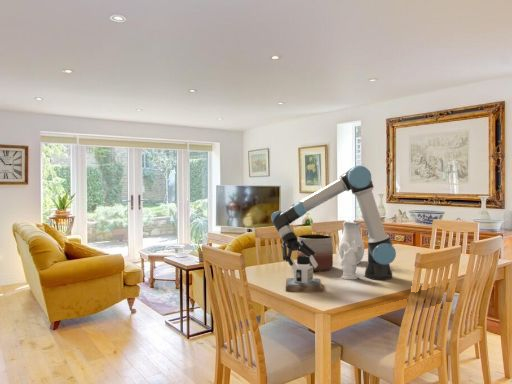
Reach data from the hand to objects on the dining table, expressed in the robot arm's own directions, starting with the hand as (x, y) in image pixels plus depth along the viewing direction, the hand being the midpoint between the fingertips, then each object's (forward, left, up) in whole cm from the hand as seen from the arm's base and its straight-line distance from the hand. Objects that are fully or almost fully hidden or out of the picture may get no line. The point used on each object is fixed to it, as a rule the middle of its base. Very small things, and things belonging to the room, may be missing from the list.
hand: (306, 268), depth 202 cm
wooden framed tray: (+1, -2, -10) cm, 10 cm away
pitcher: (-32, -72, -10) cm, 79 cm away
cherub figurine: (-27, -25, -10) cm, 38 cm away
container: (+1, -2, -7) cm, 8 cm away
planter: (-7, -48, -10) cm, 49 cm away
